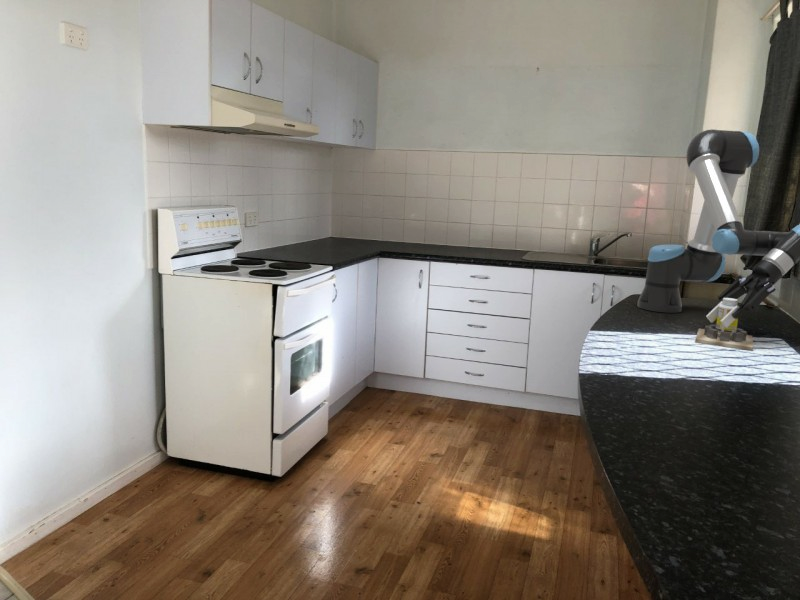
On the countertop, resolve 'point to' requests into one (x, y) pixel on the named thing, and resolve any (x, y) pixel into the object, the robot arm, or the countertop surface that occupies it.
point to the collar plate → (723, 343)
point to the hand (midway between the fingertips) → (716, 321)
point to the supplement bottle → (722, 312)
